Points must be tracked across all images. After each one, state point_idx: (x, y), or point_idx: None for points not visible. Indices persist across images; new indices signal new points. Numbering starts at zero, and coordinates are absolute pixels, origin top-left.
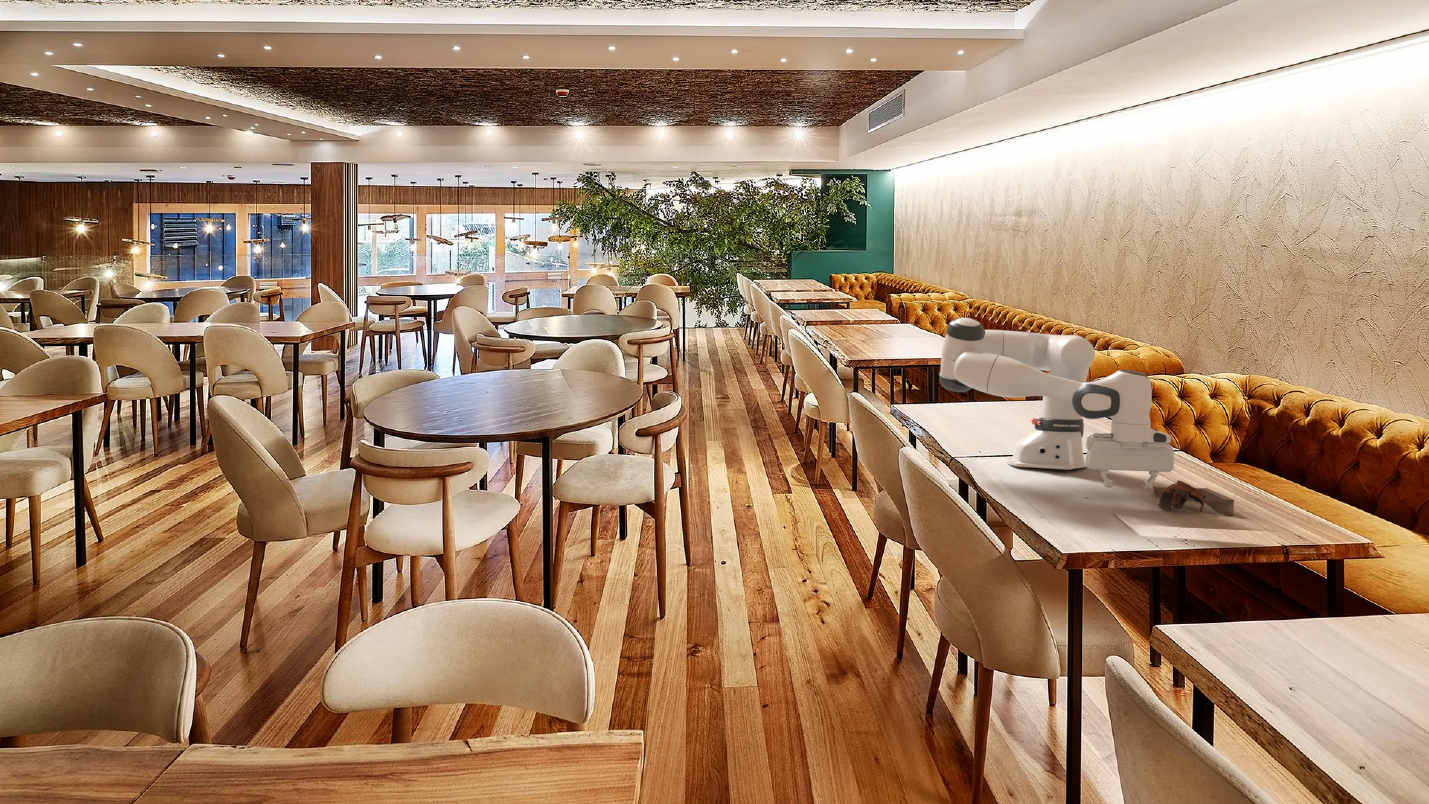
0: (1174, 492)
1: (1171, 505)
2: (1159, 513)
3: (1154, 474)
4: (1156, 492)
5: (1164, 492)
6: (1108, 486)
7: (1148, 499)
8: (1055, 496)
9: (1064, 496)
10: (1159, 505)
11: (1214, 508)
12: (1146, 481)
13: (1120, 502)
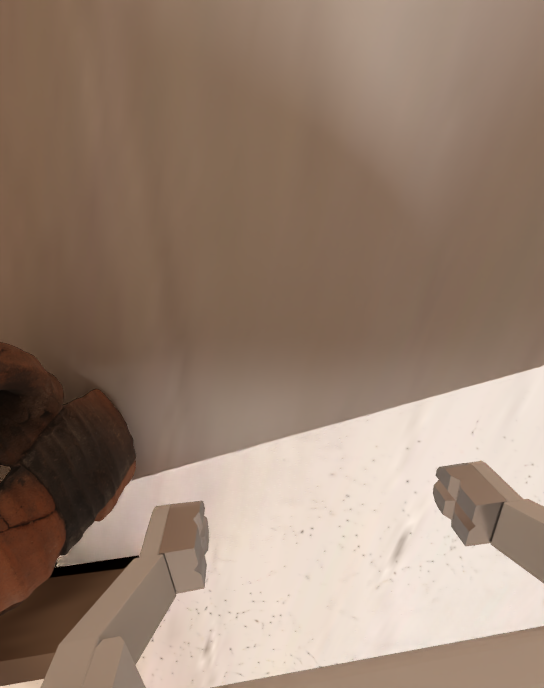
0: (27, 629)
1: (62, 391)
2: (152, 313)
3: (87, 661)
4: None
5: (71, 515)
6: (469, 463)
7: None
8: None
9: None
10: (132, 445)
11: None
12: (185, 577)
13: (290, 511)
